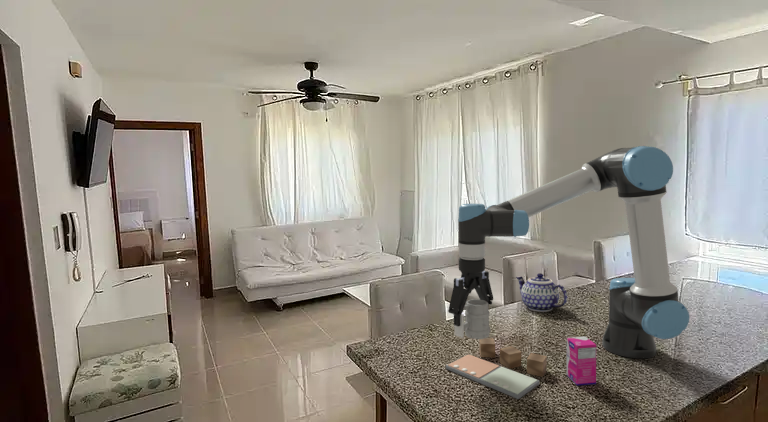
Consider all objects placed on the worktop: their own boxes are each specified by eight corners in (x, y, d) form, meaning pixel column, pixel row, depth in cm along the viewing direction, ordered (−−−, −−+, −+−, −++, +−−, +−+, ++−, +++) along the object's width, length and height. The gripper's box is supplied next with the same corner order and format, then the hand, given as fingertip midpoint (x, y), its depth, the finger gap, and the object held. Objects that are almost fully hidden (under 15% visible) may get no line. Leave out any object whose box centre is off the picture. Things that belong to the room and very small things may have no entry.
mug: (496, 336, 125) (496, 296, 124) (461, 344, 120) (461, 302, 119) (480, 328, 132) (480, 290, 131) (447, 334, 127) (446, 295, 126)
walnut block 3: (546, 370, 126) (546, 356, 125) (542, 377, 122) (543, 362, 121) (530, 367, 128) (530, 352, 128) (526, 373, 124) (526, 358, 124)
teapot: (577, 313, 173) (578, 277, 172) (552, 320, 166) (553, 283, 164) (528, 297, 195) (529, 265, 193) (504, 303, 187) (504, 270, 186)
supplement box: (565, 375, 122) (566, 337, 121) (585, 374, 123) (586, 335, 121) (576, 386, 116) (576, 345, 115) (597, 384, 117) (598, 344, 116)
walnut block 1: (493, 351, 139) (493, 338, 139) (495, 357, 135) (495, 344, 135) (479, 351, 140) (479, 338, 140) (480, 357, 136) (480, 343, 135)
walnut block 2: (521, 366, 129) (521, 351, 128) (509, 369, 127) (509, 354, 127) (511, 360, 133) (511, 346, 133) (499, 362, 131) (499, 348, 131)
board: (539, 384, 118) (539, 379, 118) (518, 399, 111) (518, 394, 110) (468, 357, 136) (468, 353, 136) (445, 368, 128) (445, 364, 128)
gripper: (484, 249, 134) (484, 317, 137) (434, 262, 119) (435, 338, 121) (505, 252, 129) (505, 323, 131) (456, 266, 113) (456, 345, 115)
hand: (471, 330), depth 126 cm, fingers closed on mug, 11 cm apart
